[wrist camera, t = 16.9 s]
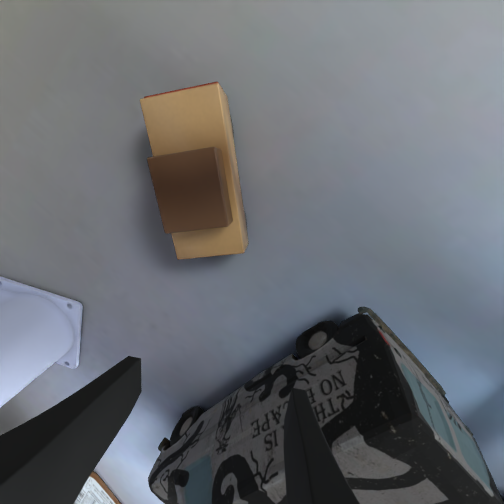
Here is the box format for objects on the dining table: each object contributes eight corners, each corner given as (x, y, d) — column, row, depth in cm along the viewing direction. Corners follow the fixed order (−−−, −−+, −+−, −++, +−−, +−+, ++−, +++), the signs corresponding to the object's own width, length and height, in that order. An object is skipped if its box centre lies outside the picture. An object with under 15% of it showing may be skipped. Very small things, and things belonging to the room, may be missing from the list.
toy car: (165, 422, 26) (102, 560, 17) (357, 289, 19) (430, 396, 10) (233, 479, 28) (209, 635, 19) (434, 374, 21) (560, 538, 12)
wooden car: (250, 241, 19) (240, 261, 15) (192, 247, 20) (166, 268, 15) (229, 96, 16) (209, 65, 12) (163, 109, 17) (120, 84, 13)
